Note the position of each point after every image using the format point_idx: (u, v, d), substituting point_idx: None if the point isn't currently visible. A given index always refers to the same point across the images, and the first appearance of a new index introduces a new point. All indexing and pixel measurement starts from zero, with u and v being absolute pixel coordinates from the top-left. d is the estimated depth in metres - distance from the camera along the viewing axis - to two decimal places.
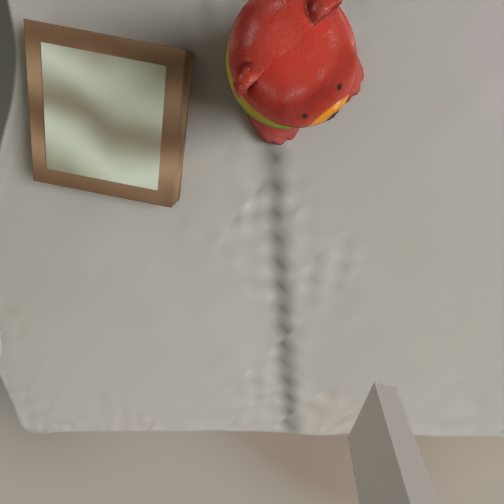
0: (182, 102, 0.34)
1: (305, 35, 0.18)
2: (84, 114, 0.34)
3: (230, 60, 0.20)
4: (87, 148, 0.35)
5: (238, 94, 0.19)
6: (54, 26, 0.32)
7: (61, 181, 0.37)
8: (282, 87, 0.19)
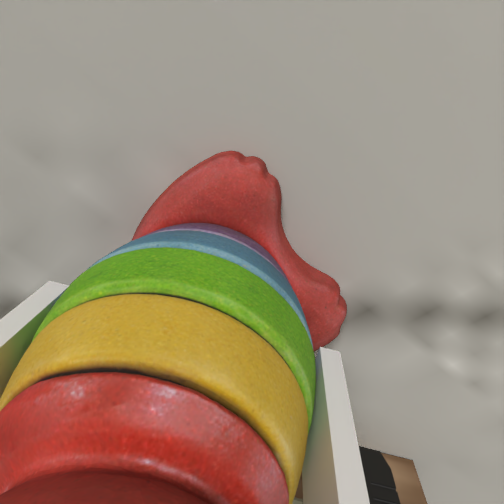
0: None
1: None
2: None
3: None
4: None
5: None
6: None
7: None
8: None
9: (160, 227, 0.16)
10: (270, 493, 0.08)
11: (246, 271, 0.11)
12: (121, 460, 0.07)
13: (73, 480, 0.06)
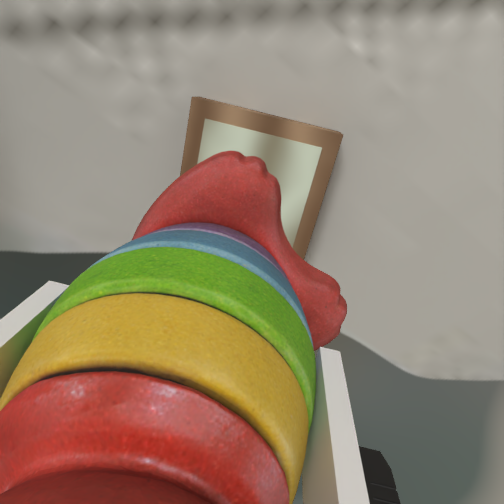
0: (238, 108, 0.34)
1: None
2: None
3: None
4: None
5: None
6: None
7: (303, 244, 0.38)
8: None
9: (160, 227, 0.16)
10: (270, 492, 0.08)
11: (246, 270, 0.11)
12: (122, 459, 0.07)
13: (73, 479, 0.06)
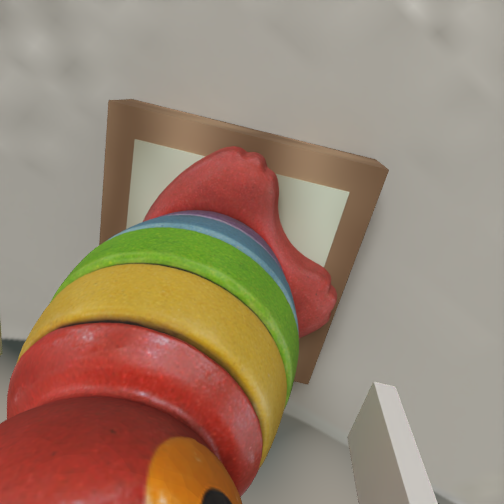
0: (195, 120, 0.19)
1: None
2: None
3: None
4: None
5: None
6: None
7: (314, 347, 0.23)
8: None
9: (167, 213, 0.18)
10: (245, 432, 0.09)
11: (238, 251, 0.13)
12: (121, 391, 0.08)
13: (82, 400, 0.08)
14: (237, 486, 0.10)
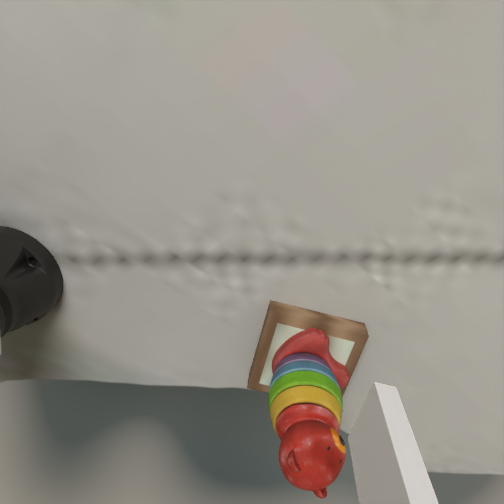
0: (299, 316, 0.52)
1: (305, 475, 0.38)
2: None
3: None
4: None
5: None
6: (252, 374, 0.56)
7: None
8: (326, 483, 0.38)
9: (291, 352, 0.51)
10: (336, 426, 0.43)
11: (326, 377, 0.46)
12: (314, 419, 0.42)
13: (309, 421, 0.41)
14: None
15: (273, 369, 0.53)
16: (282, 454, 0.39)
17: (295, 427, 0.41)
